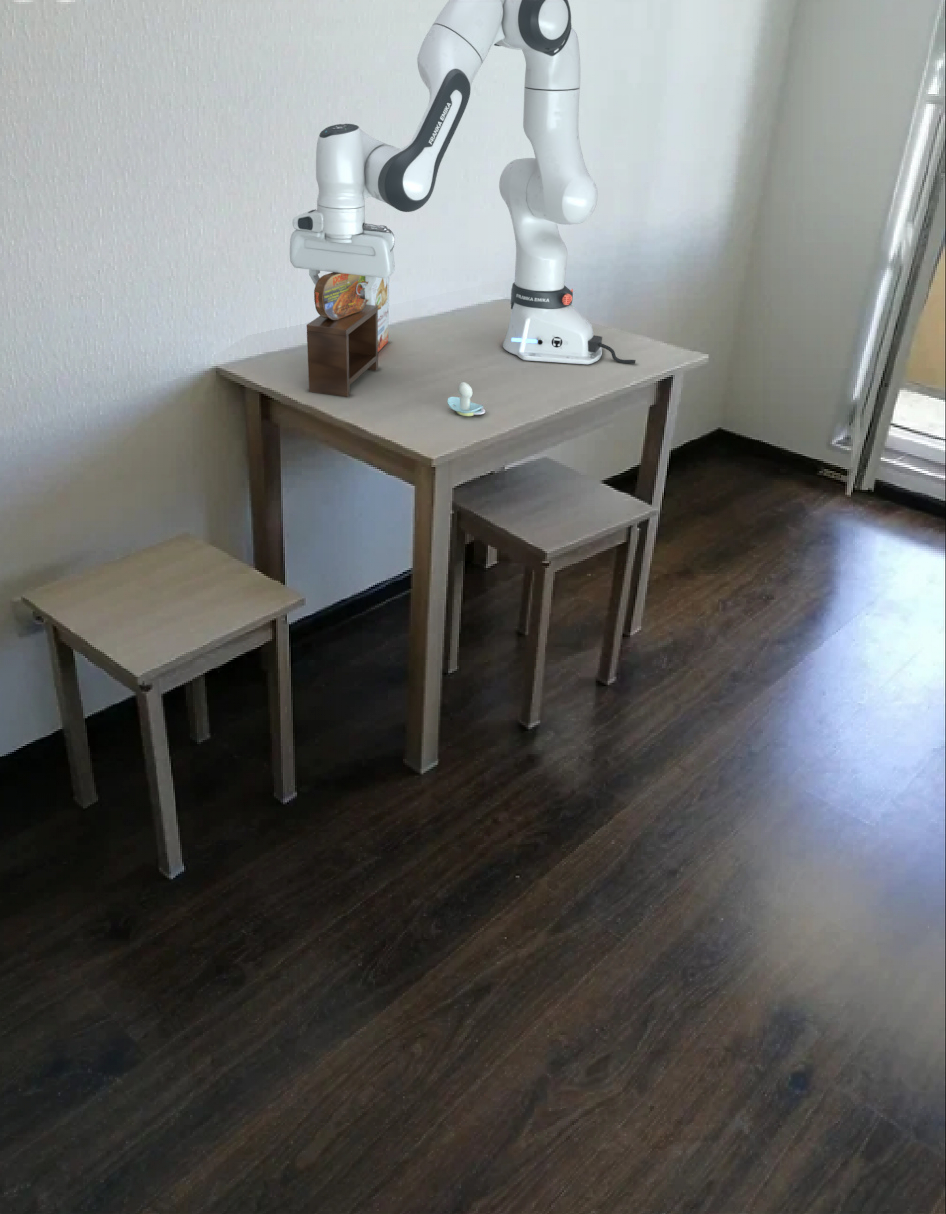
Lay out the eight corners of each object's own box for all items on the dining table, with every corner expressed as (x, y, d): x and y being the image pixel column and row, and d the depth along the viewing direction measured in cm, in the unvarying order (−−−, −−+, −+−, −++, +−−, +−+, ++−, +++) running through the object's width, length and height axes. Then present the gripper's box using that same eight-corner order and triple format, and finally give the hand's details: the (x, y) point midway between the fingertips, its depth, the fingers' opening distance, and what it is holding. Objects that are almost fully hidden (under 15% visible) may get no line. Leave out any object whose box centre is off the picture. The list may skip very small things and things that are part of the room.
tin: (325, 324, 187) (323, 279, 183) (311, 321, 189) (310, 276, 184) (371, 307, 198) (370, 264, 194) (358, 304, 200) (357, 262, 195)
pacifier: (462, 404, 192) (443, 411, 188) (464, 373, 189) (444, 379, 185) (492, 414, 189) (473, 421, 184) (494, 382, 185) (475, 389, 181)
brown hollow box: (378, 368, 207) (377, 305, 200) (347, 397, 192) (346, 329, 185) (342, 364, 208) (340, 301, 201) (309, 391, 194) (306, 324, 187)
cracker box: (372, 361, 211) (372, 260, 200) (345, 358, 212) (343, 257, 201) (390, 342, 223) (391, 246, 211) (364, 339, 223) (364, 243, 212)
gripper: (399, 223, 185) (399, 298, 192) (297, 212, 188) (301, 286, 196) (388, 229, 179) (388, 306, 187) (284, 218, 183) (288, 293, 191)
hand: (342, 295), depth 191 cm, fingers open, 8 cm apart
